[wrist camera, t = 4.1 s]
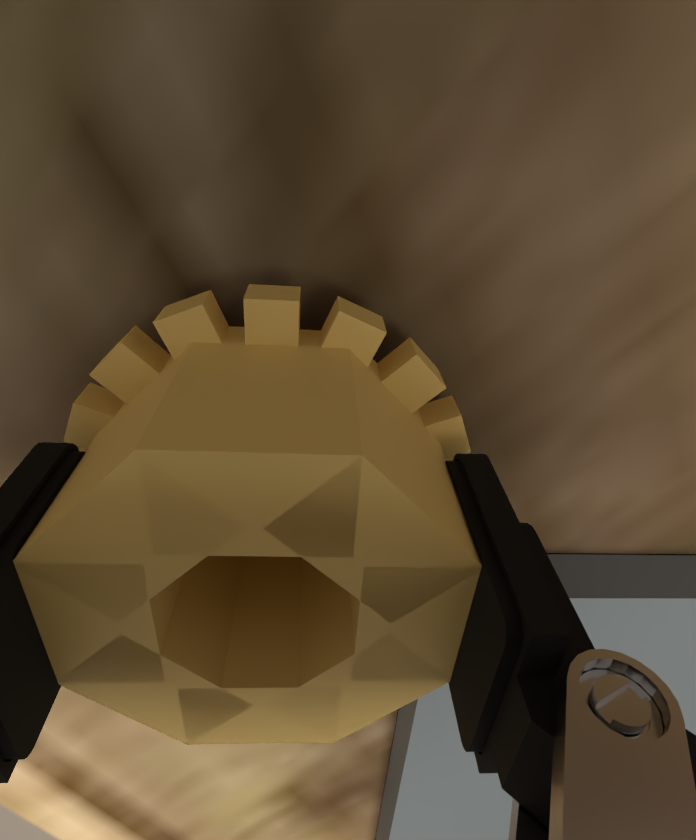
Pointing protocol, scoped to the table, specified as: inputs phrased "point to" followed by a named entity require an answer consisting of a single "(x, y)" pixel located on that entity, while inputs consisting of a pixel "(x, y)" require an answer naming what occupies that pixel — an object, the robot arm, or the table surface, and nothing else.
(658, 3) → the table surface
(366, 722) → the gear
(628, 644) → the gear board
